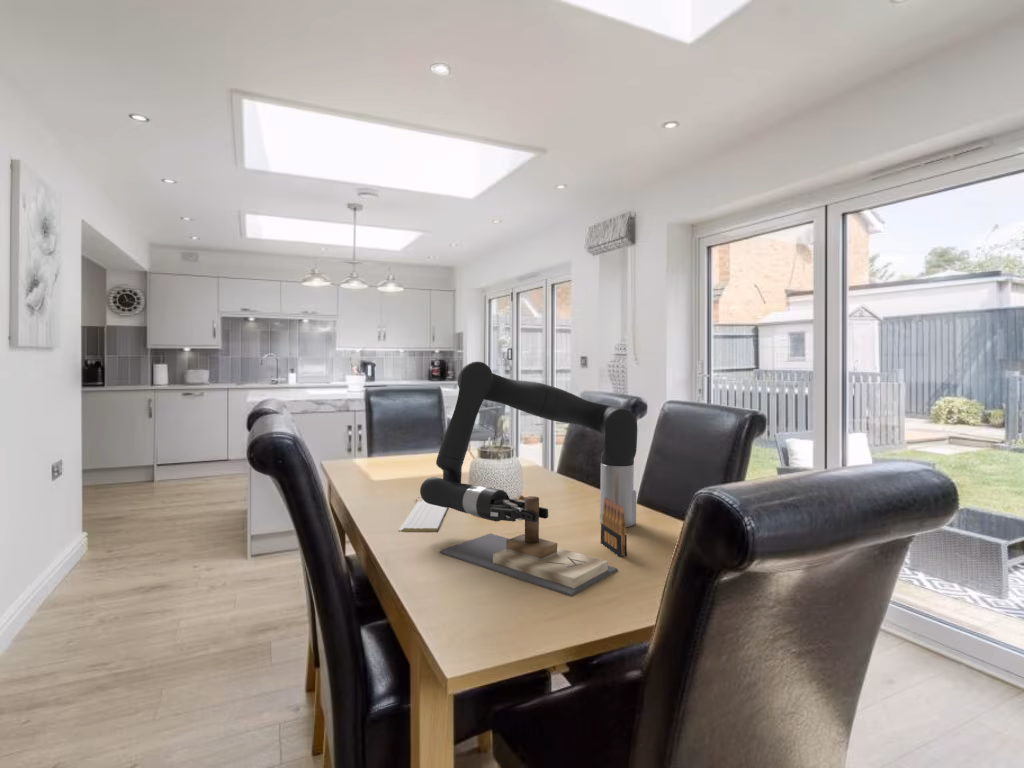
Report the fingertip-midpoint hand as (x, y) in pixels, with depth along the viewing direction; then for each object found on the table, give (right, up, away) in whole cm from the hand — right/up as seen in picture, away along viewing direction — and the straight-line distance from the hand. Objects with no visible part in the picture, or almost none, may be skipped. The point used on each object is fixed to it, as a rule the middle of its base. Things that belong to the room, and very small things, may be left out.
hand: (541, 515), depth 125 cm
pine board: (+2, -12, -1) cm, 12 cm away
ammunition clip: (+18, -11, +12) cm, 25 cm away
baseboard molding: (-33, -11, +41) cm, 54 cm away
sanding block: (-2, -9, +2) cm, 9 cm away
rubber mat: (-4, -11, +4) cm, 12 cm away
